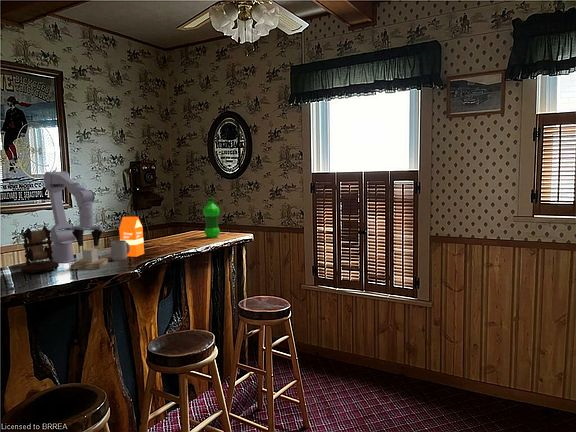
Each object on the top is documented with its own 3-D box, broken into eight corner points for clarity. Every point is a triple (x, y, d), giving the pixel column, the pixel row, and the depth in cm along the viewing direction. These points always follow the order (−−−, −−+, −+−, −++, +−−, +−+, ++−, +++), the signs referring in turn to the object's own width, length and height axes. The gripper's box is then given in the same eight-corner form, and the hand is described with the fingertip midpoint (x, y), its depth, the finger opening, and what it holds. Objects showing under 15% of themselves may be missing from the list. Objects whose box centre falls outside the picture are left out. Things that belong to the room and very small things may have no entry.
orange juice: (136, 256, 218) (133, 217, 215) (120, 256, 219) (118, 217, 217) (144, 253, 225) (142, 215, 223) (129, 253, 227) (126, 215, 225)
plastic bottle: (201, 238, 268) (199, 198, 265) (209, 235, 278) (207, 197, 275) (215, 238, 265) (214, 198, 262) (223, 236, 275) (221, 197, 272)
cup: (108, 259, 211) (107, 242, 210) (125, 256, 220) (124, 238, 219) (117, 261, 208) (116, 243, 207) (134, 257, 216) (133, 239, 215)
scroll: (51, 265, 202) (47, 223, 199) (64, 270, 192) (61, 226, 190) (16, 272, 190) (11, 227, 188) (28, 277, 181) (24, 230, 179)
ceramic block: (83, 262, 196) (82, 250, 196) (89, 259, 201) (88, 248, 200) (92, 262, 195) (91, 250, 195) (98, 260, 200) (97, 248, 199)
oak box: (71, 271, 191) (71, 264, 191) (81, 265, 203) (81, 259, 203) (99, 270, 193) (99, 263, 192) (107, 264, 205) (107, 258, 204)
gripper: (66, 217, 192) (68, 247, 194) (95, 217, 190) (98, 247, 192) (76, 215, 199) (78, 244, 201) (104, 215, 197) (106, 244, 199)
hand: (88, 245), depth 197 cm, fingers open, 7 cm apart
